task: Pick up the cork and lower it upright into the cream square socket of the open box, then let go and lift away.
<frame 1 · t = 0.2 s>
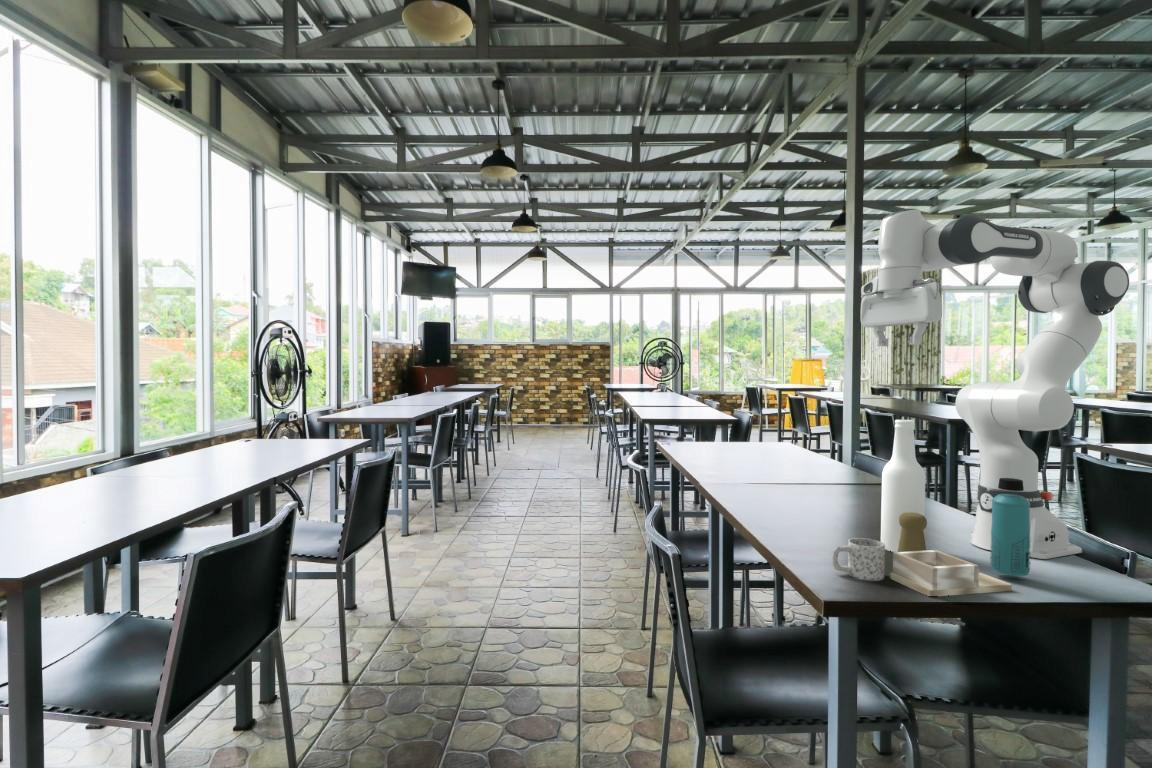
hand: (898, 345, 135), 47 cm above the table, fingers open, 8 cm apart
beverage bottle: (1009, 579, 121), on the table
mug: (857, 576, 122), on the table
cork: (911, 565, 129), on the table
open box: (949, 584, 117), on the table
alcohol: (901, 550, 140), on the table
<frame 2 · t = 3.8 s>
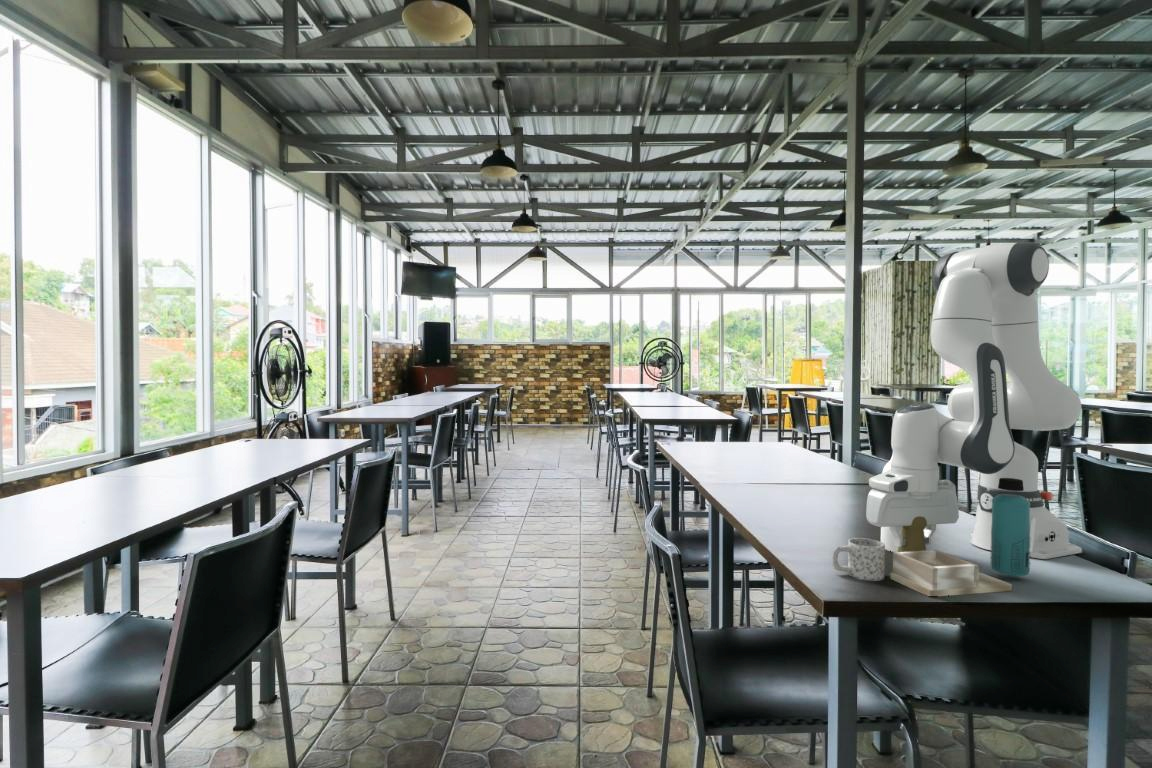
hand: (912, 545, 129), 4 cm above the table, fingers closed on cork, 5 cm apart
cork: (911, 565, 129), on the table, touching gripper
everything else where it was.
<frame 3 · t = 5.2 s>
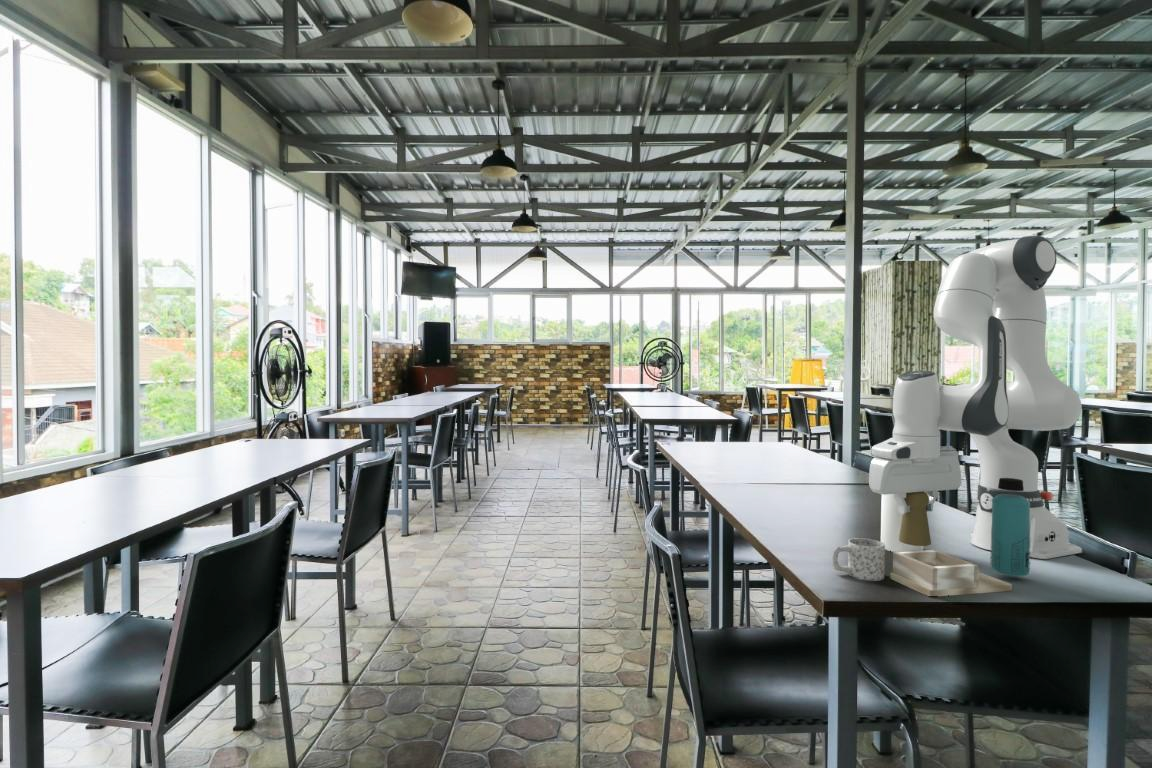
hand: (915, 512, 129), 11 cm above the table, fingers closed on cork, 4 cm apart
cork: (914, 542, 129), point 5 cm above the table, touching gripper
everything else where it was.
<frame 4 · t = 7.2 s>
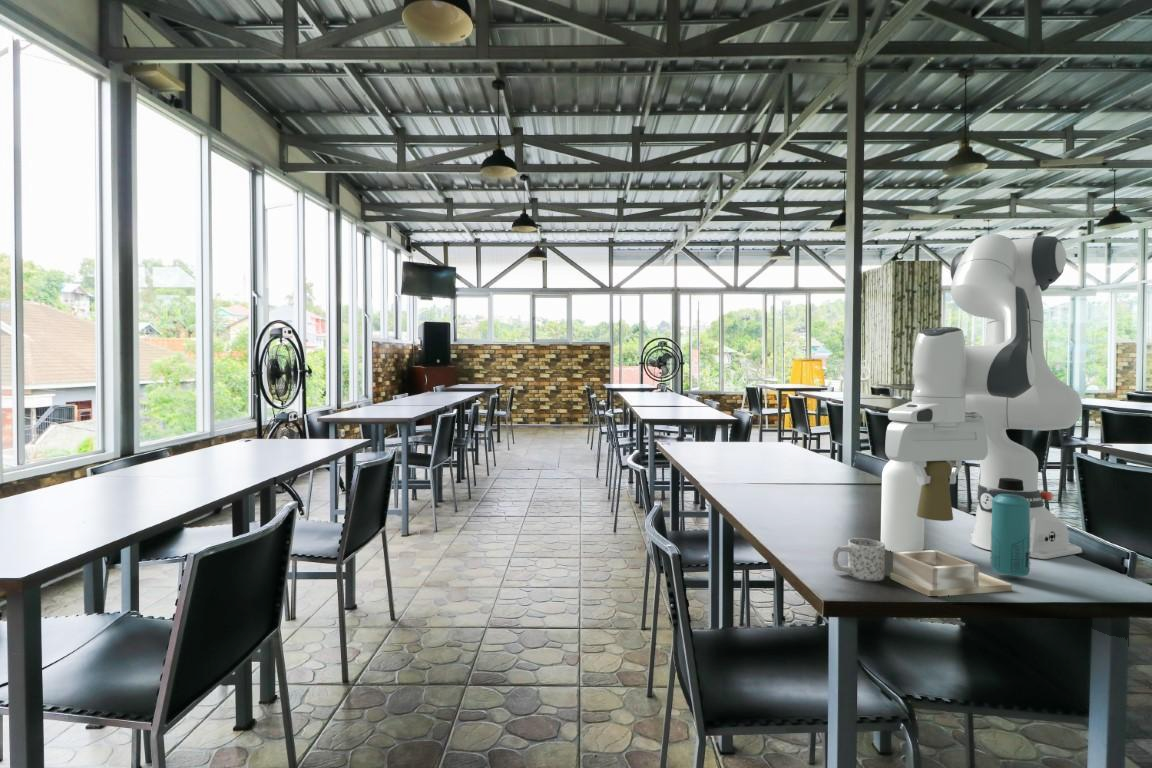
hand: (936, 484, 116), 20 cm above the table, fingers closed on cork, 4 cm apart
cork: (934, 518, 116), point 13 cm above the table, touching gripper
everything else where it was.
when the fingers open (8 cm above the table, at t = 9.2 s): cork stays where it is, resting on open box.
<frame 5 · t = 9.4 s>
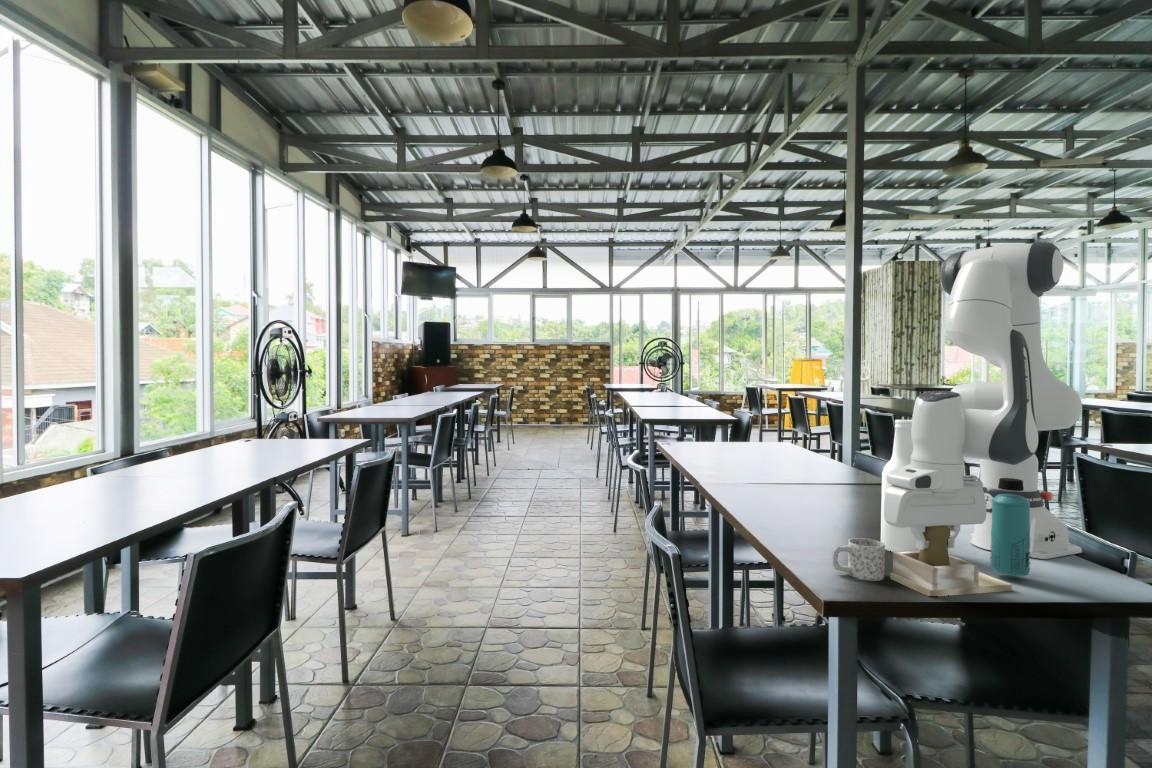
hand: (934, 548, 116), 7 cm above the table, fingers open, 4 cm apart
cork: (933, 580, 116), point 1 cm above the table, touching open box, gripper
everything else where it was.
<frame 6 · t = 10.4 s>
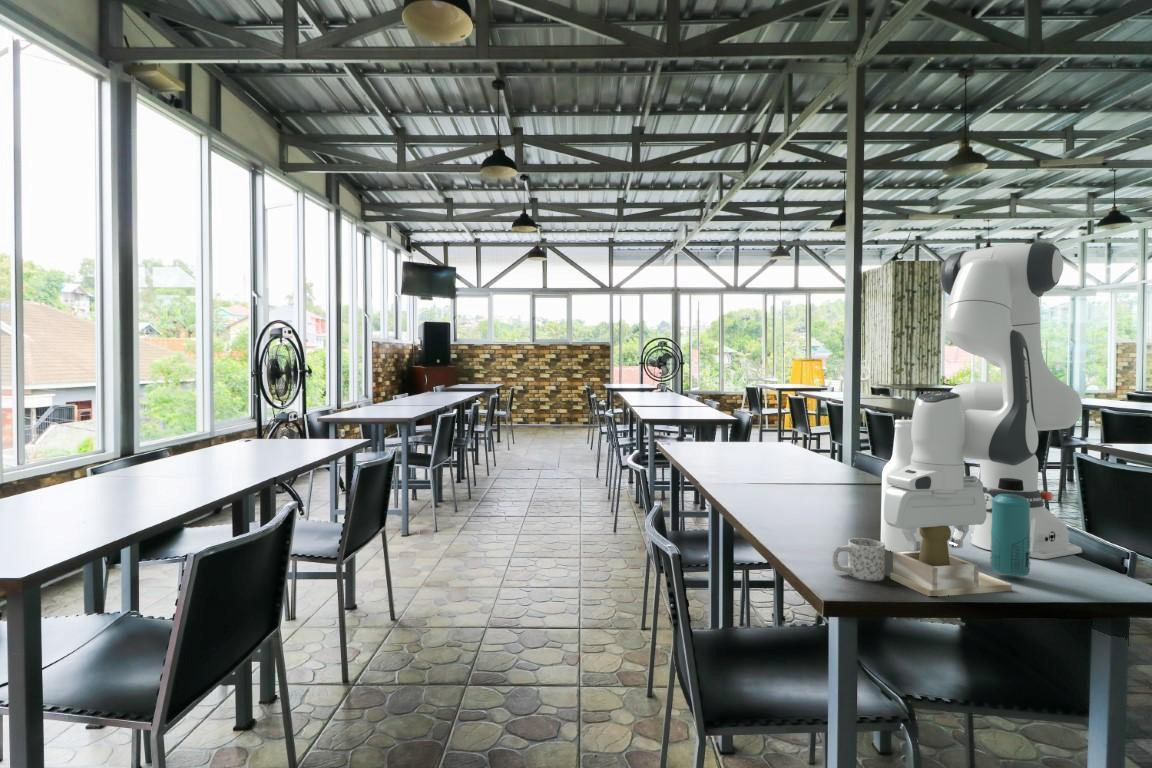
hand: (934, 548, 116), 7 cm above the table, fingers open, 8 cm apart
cork: (933, 580, 116), point 1 cm above the table, touching open box
everything else where it was.
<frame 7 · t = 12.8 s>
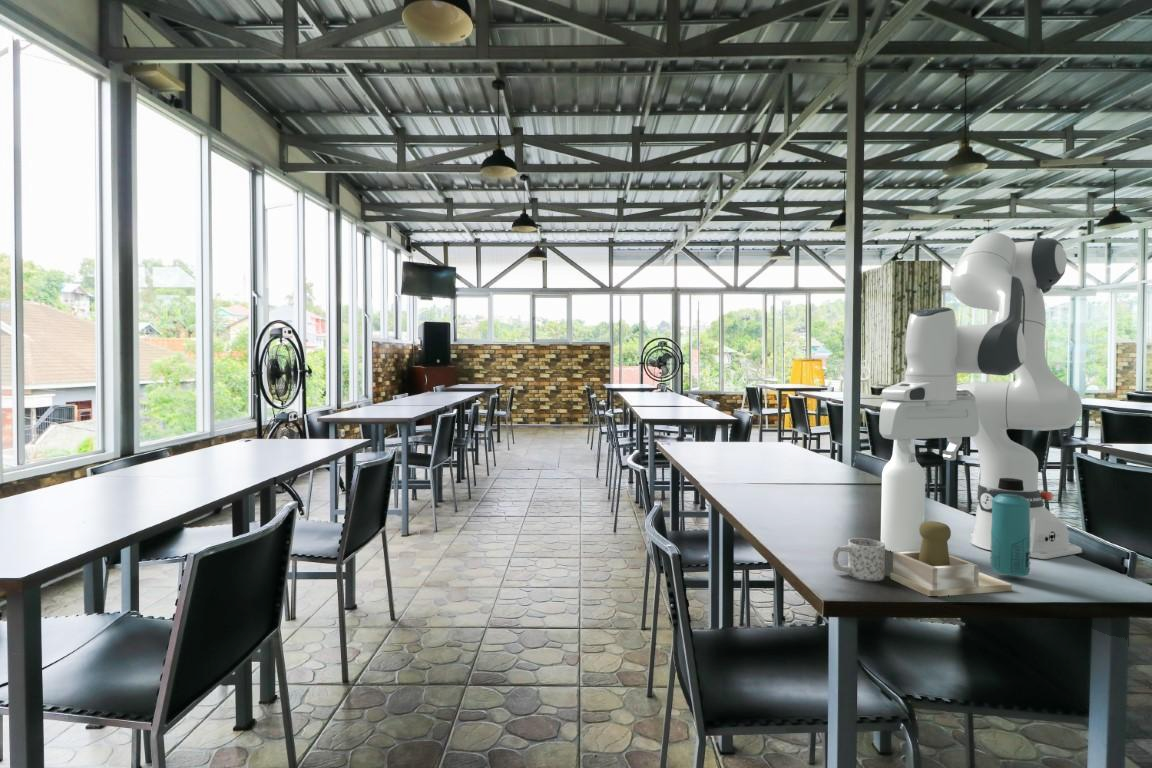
hand: (929, 460, 119), 24 cm above the table, fingers open, 8 cm apart
nothing on the table moved.
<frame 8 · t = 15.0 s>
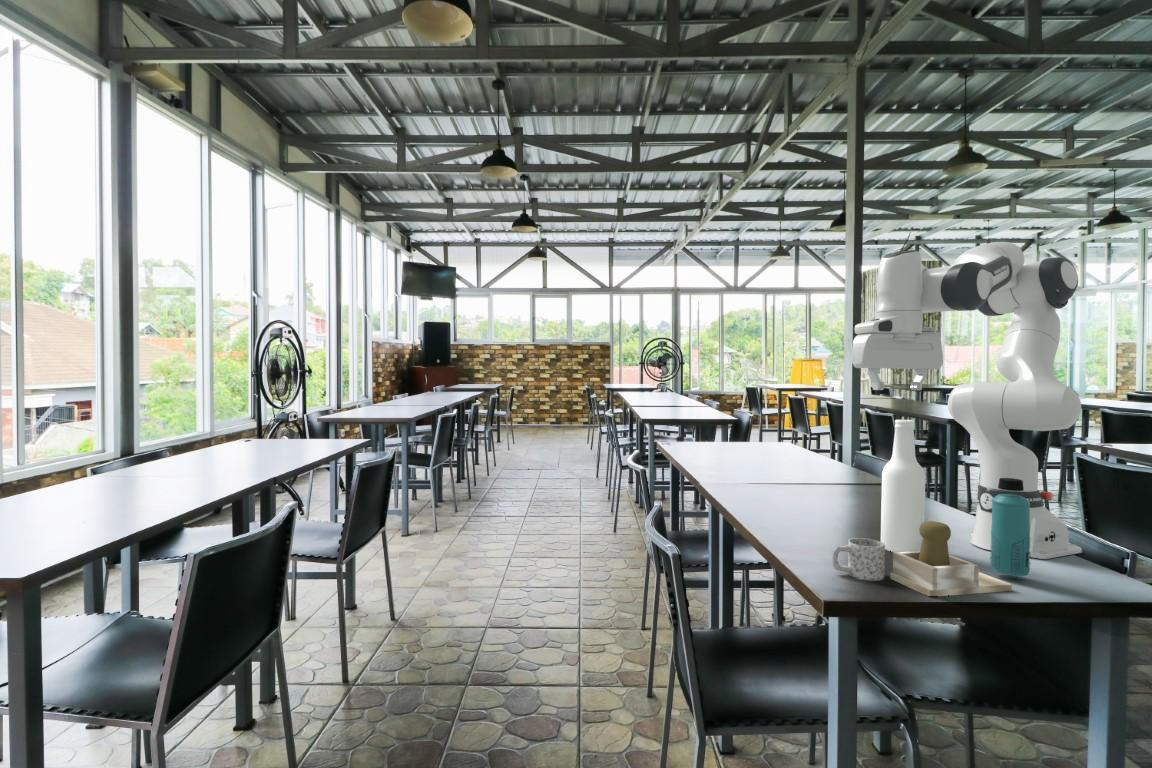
hand: (897, 390, 131), 37 cm above the table, fingers open, 8 cm apart
nothing on the table moved.
at the end: cork 0.1 cm from the target spot on the open box, point 1.0 cm above the open box's base; cork tilted 0°; the gripper is holding nothing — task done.
